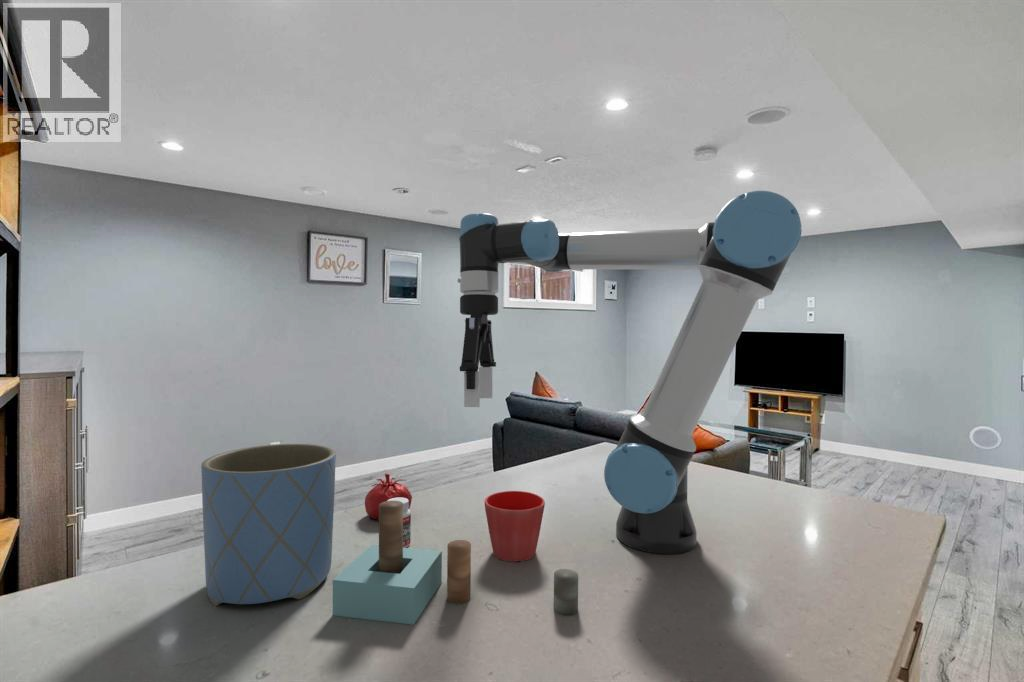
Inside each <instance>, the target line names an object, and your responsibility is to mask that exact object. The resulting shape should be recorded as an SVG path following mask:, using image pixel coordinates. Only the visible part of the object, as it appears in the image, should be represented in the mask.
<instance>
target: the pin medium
mask: <svg viewBox="0 0 1024 682" xmlns="http://www.w3.org/2000/svg"><path fill="white" fill-rule="evenodd" d="M446 551H447V553H446V554H447V561H446V562H447V564H446V566H447V567H446V568H447V571H446V574H447V575H446V577H447V578H446V580H447V581H446V585H447V586H446V588H447V589H446V600H447V602H449V603H450V604H454V605H461V604H466V603H467V602H469V601H470V600H471V591H472V590H471V588H472V587H471V586H472V585H471V584H472V583H471V582H472V581H471V580H472V578H471V577H472V572H471V571H472V570H471V569H472V563H471V562H472V559H471V558H472V544H471V542H470V541H468V540H465V539H455V540H452V541H449V542H448V543H447V550H446Z"/></svg>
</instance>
